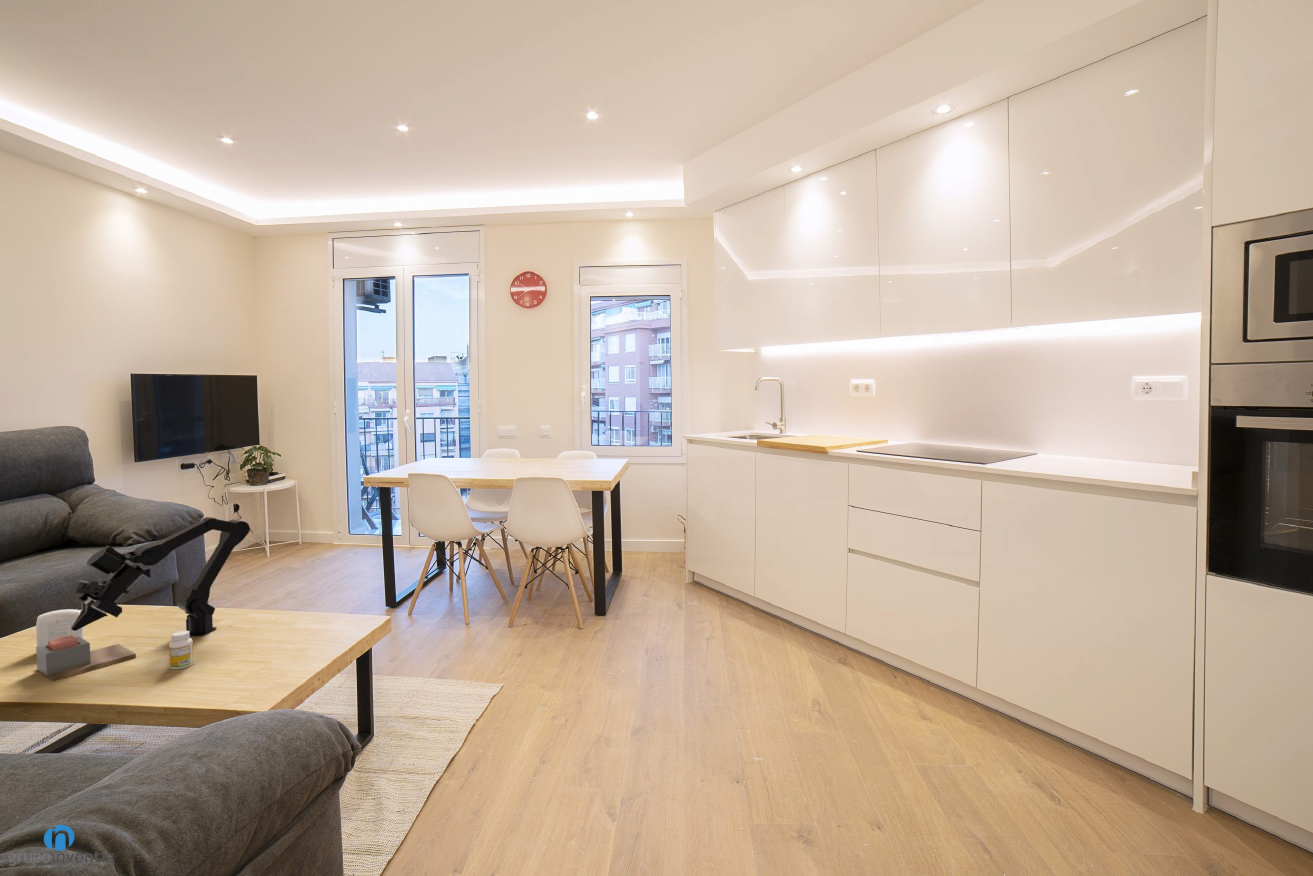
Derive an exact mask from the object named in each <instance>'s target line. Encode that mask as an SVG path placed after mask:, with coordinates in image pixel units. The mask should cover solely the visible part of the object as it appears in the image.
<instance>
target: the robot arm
mask: <svg viewBox="0 0 1313 876" xmlns="http://www.w3.org/2000/svg"><path fill="white" fill-rule="evenodd" d="M210 531H219V532H220V533H219V541H218V544H217V546H216V547H215V549H214V551H213V552H212V554H211V555H210V557H209V559H208V560H207V562H206V563H205V565H204V567H203V568H202V571H201V572H200V573H199V575H198V577H197V579H196V581H194V583H193V584H192V585H191V586H187V585H184V586H183V588H182V591H181V593H180V594H179V595H177V597H176V598H177V607H178V608H179V610H182V611H184V613H185V614H186V620H185V629H186V630H185V631H189V634H190V636H202V637H203V636H205V635H206V634H208V633H210V632H212V631H215V630H217V626H214V625H213V621H214V620H213V615H214V614H215V611H216V607H214V606H212V605H211V604H209V603H208V601H209V598H210V595H211V594H210V593H211V587H212V585H213V584H214V582H215V580H216V579H217V577H218V576H219V574H220V572H221V570H222V568H223V567H224V565H225V564H226V561H228V559H229V557H230V555H231V554H232V551H233V550H234V548H235V547H237V546H238V545H239V544H240V543H241V542H243V541H244V540H245V538H246V537H247V536H248V535H249V533H250V531H251V526H250V524H249V523H248V522H246V521H243V520H239V519H229V520H224V519H218V518H216V517H211V516H206V517H204V518H202V519H201V520H200V521H197V522H195V523H193V524H192V525H189V526H187V527H185V528H183V529H181V530H179V531H177V532H175V533H174V534H171V535H170V536H168V537H165V538H163V539H159V540H155V541H151V542H148V543H146V544H143V545H140V546H138V547H136V548H135V549H134V550H132V551H128V552H124V553H121V552H119V551H117V550H116V549H114V548H113V547H112V546H109V545H105V547H104V548H102V549H100V550H99V551H98V550H97V552H95V553H93V554H92V555H91V556H90V558H89V559H88V560H87V561H86V565H87V566H88V567H90V568H93V569H94V570H96V571H98V572H99V573H102V574H103V575H107V576H108V575H110V574H112V576H110V578H109V579H103V580H101V582H99V581H97V580H89V581H87V580H81V579H79V580H78V579H76V582H74V585H73V587H72V588H71V592H74V593H75V594H76V596H75V598H77V599H79V600H81V601H80V606H81V610H80V611H81V612H80V614H79V616H78V618H77V619H76V621H75V623H74V624H73V626H72V628H71V629H72V630H74V631H76V630H78V629H80V628H82V627H83V628H84V627H86V626H88V625H90V624H92V623H94V622H96V621H98V620H100V619H103V618H105V617H108V616H109V615H111V616H113V617H114V618H118V617H120V615H121V614H122V613H123V607H122V606H120V605H118V603H117V601H118V600H119V599H120V598H121V597H122V596H123V595H127V594H129V592H130V591H129V589H130V588H131V587H132V586H133V585H134V584H135V583H136V582H137V581H138V580H139V579H140V578H141V577H142V576H144V577H146V578H149V579H150V578H151V577H152V575H151V568H149V567H151V566H155V565H157V564H159V563H160V562H161V561H162V560H164V559H165V558H167V557H168V556H169V555H170V554H171V553H172V552H173V551H175V550H176V549H178V548H180V547H182V546H183V545H185V544H188V543H189V542H191V541H193V540H195V539H197V538H198V537H201V536H203V535H205V534H208V532H210ZM127 562H129V563H131V564H132V565H131V564H129V563H127ZM139 564H140V565H143V566H146V567H144V568H143V567H142V566H140V565H139ZM147 566H148V567H147ZM82 601H83V602H82ZM108 614H109V615H108ZM190 636H189V637H190Z"/></svg>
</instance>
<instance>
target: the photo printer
mask: <svg viewBox="0 0 1313 876" xmlns="http://www.w3.org/2000/svg"><path fill="white" fill-rule="evenodd" d="M80 612H81V610H80V609H71V608H69V609H67V608H66V609H58V610H52V611H48V612H45V613H42V614H40V615H38V616H37V620H36V623H35V624H36V625H35V627H36V647H38V646H42V645H47V644H48V641H51V640H55V639H59V638H63V637H67V636H71V635H72V636H74V637H81V638H82V639H84V627H82V628H80V629H78V630H76V631H74V630H72V629H71V628H72V626H73V624H74V623H75V621H76V619H77V618H78V616H79V614H80Z"/></svg>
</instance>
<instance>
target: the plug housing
mask: <svg viewBox="0 0 1313 876" xmlns="http://www.w3.org/2000/svg"><path fill="white" fill-rule="evenodd" d="M75 638H77V639H78V644H77V645H73V646H69V647H65V648H62V649H58V650H54V651H51V650H50V649H48V644H47V645H42V646H38V647H37V646H36V647H35V648H36V649H35V653H36V669H37V668H38V669H39V670H41V671H42V672H43V673H45V674H46V675H50V674H53V673H57V672H61V671H64V670H68V669H72V668H75V667H79V666H83V665H86V664H90V663H91V661H90V651H91V646H90V645H91V643H90V642H89V641H87V640H86V639H84V638H83V639H82V638H81V637H75ZM38 669H37V670H38ZM39 670H38V671H39ZM42 672H41V673H42ZM43 673H42V674H43Z"/></svg>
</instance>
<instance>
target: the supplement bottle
mask: <svg viewBox="0 0 1313 876" xmlns="http://www.w3.org/2000/svg"><path fill="white" fill-rule="evenodd" d="M171 640H172V641H170V642H169V645H168V650H169V651H168V653H169V654H168V655H169V668H170V669H172V670H181V669H186V668H188V667H190V666H192V665H193V664H194V642H193V639H192V638H191V637H190V634H189V631H186V630H181V631H177V632H174V633H172V634H171Z"/></svg>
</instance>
